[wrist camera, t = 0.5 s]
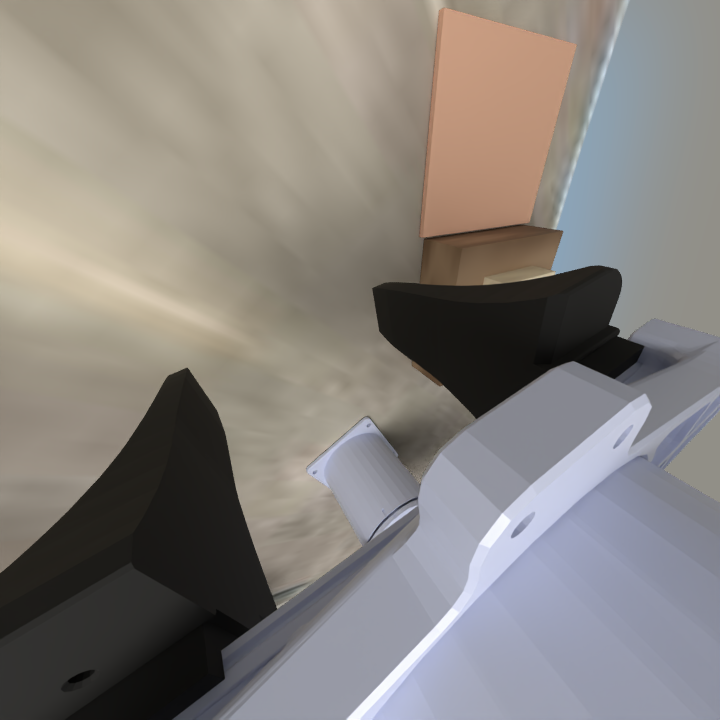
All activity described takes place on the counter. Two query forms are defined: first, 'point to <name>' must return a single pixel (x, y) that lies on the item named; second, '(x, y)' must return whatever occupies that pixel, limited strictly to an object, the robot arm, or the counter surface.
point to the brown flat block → (485, 257)
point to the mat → (489, 122)
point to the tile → (518, 275)
